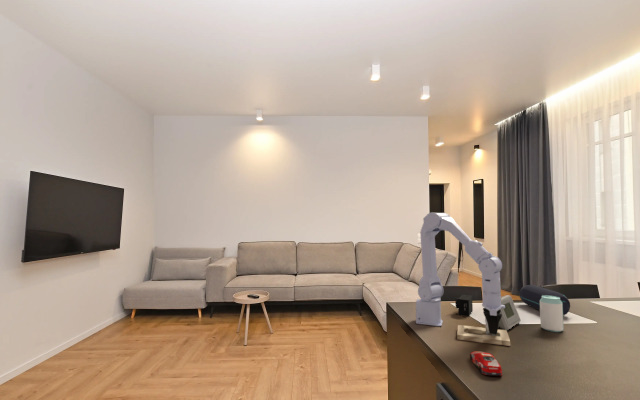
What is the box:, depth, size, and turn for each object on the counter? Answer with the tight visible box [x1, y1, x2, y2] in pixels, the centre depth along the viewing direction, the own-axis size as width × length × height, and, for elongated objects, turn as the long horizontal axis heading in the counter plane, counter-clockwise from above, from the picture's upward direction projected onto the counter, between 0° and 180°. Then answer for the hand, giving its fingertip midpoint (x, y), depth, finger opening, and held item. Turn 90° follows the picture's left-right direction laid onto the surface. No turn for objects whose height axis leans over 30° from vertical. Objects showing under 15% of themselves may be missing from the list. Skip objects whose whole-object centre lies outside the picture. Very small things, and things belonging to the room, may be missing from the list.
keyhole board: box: [456, 324, 511, 347], centre depth 118 cm, size 16×12×2 cm
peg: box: [484, 316, 496, 336], centre depth 117 cm, size 3×3×8 cm
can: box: [539, 296, 565, 333], centre depth 126 cm, size 7×7×12 cm
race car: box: [469, 350, 503, 377], centre depth 94 cm, size 13×5×4 cm, turn 171°
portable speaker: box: [518, 284, 571, 317], centre depth 153 cm, size 25×10×10 cm, turn 0°
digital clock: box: [498, 294, 521, 331], centre depth 131 cm, size 16×9×11 cm, turn 122°
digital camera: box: [455, 294, 474, 317], centre depth 150 cm, size 10×5×7 cm, turn 148°
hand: (492, 331), depth 117 cm, fingers open, 4 cm apart
